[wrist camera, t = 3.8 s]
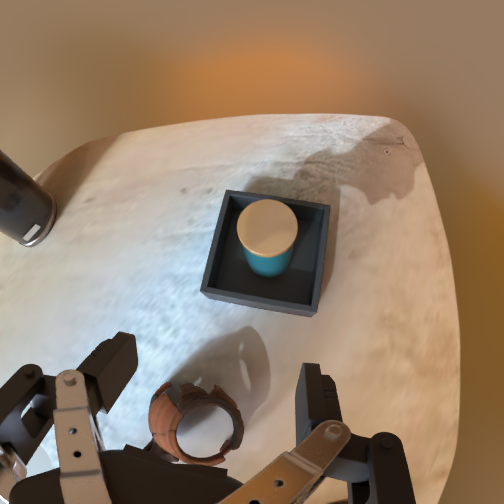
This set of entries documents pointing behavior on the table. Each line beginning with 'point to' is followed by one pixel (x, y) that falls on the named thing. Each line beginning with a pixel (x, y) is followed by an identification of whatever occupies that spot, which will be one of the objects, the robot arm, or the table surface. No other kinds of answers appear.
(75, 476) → the robot arm
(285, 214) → the spice jar
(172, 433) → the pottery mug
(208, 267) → the bin
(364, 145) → the table surface
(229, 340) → the table surface
